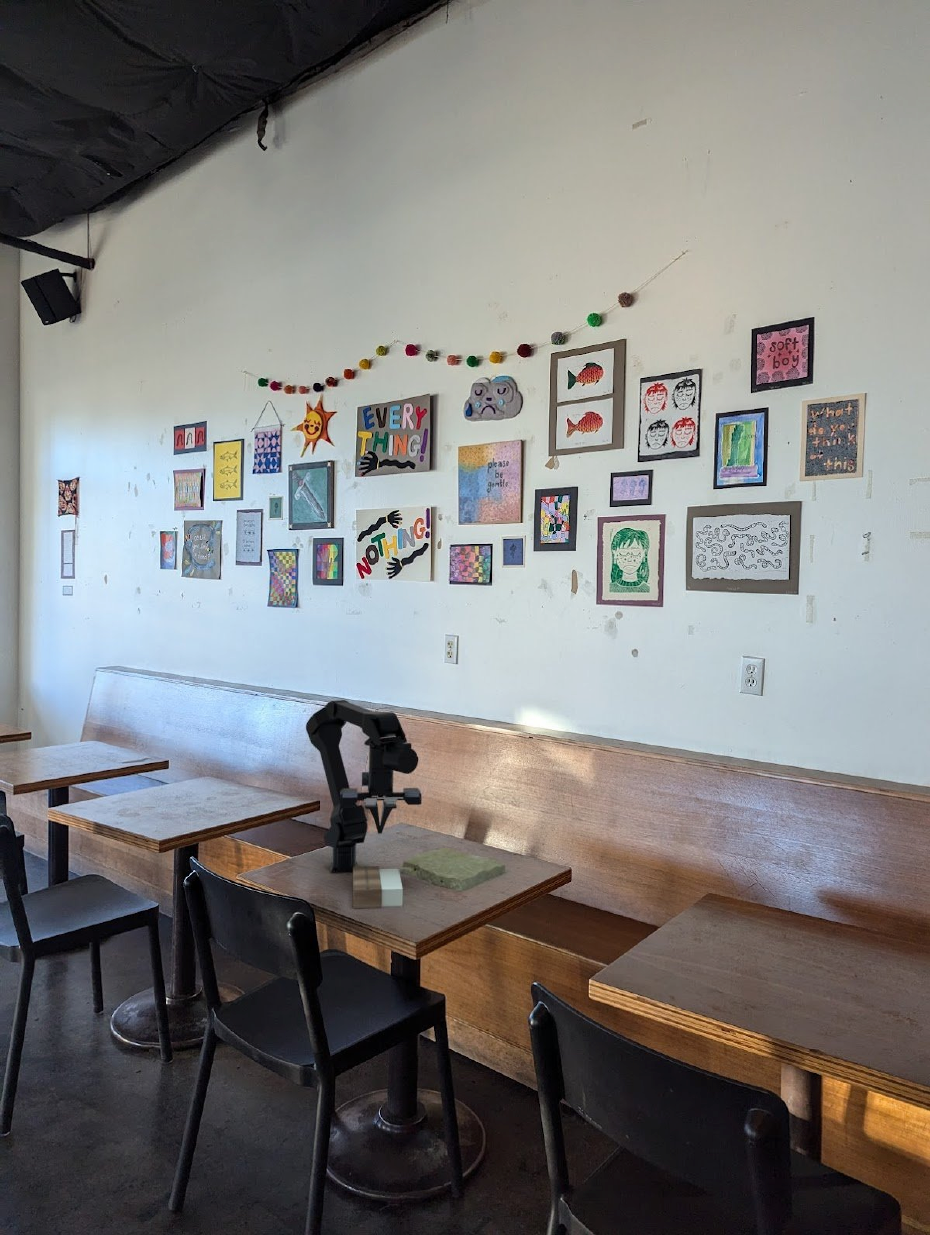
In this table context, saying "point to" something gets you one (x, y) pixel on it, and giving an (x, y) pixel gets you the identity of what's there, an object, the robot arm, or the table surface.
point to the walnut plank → (366, 887)
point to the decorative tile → (452, 868)
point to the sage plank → (391, 887)
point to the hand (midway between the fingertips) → (379, 833)
